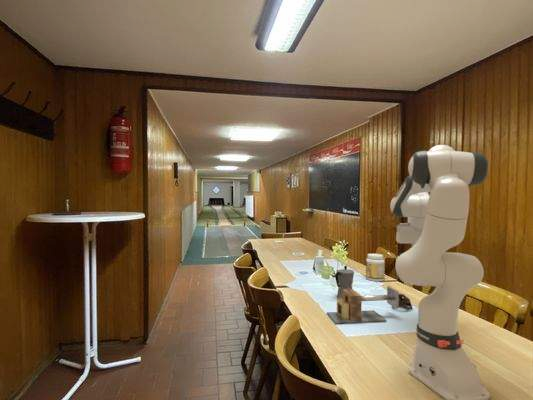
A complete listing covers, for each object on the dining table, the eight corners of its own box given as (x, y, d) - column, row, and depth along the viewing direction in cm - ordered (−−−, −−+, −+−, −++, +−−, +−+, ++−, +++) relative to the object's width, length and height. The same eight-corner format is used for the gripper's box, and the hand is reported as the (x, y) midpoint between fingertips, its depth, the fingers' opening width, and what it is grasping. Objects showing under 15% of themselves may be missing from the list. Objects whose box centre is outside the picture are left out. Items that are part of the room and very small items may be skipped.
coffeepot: (345, 293, 179) (345, 262, 179) (359, 297, 172) (359, 265, 172) (328, 299, 169) (328, 266, 169) (342, 303, 162) (342, 269, 162)
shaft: (389, 302, 150) (389, 286, 149) (398, 308, 142) (398, 291, 142) (351, 304, 147) (351, 287, 147) (358, 310, 139) (358, 293, 139)
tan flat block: (342, 313, 146) (342, 298, 146) (348, 319, 139) (349, 303, 139) (336, 313, 146) (336, 298, 146) (342, 320, 139) (342, 303, 138)
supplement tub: (362, 277, 214) (362, 253, 214) (376, 276, 218) (377, 252, 217) (373, 282, 202) (373, 257, 202) (388, 281, 206) (388, 256, 206)
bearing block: (373, 311, 151) (374, 287, 151) (386, 321, 139) (386, 295, 139) (326, 314, 148) (326, 289, 148) (335, 324, 136) (335, 297, 136)
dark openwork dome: (417, 312, 152) (411, 299, 150) (398, 319, 153) (392, 307, 151) (407, 298, 163) (401, 286, 161) (390, 305, 165) (384, 293, 163)
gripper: (401, 223, 137) (400, 254, 137) (442, 223, 140) (442, 253, 140) (393, 222, 143) (393, 252, 143) (433, 222, 146) (433, 251, 146)
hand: (417, 252), depth 142 cm, fingers closed
